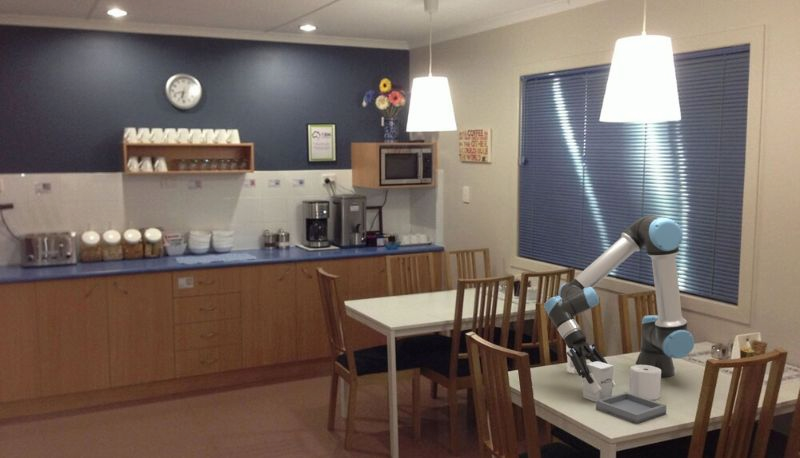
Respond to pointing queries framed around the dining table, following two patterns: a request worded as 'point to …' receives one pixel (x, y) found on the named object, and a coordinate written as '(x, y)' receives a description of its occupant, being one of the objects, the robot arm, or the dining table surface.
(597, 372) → the supplement box
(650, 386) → the toilet tissue
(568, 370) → the beer glass
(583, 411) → the dining table surface
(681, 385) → the dining table surface
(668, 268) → the robot arm
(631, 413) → the holder tray
